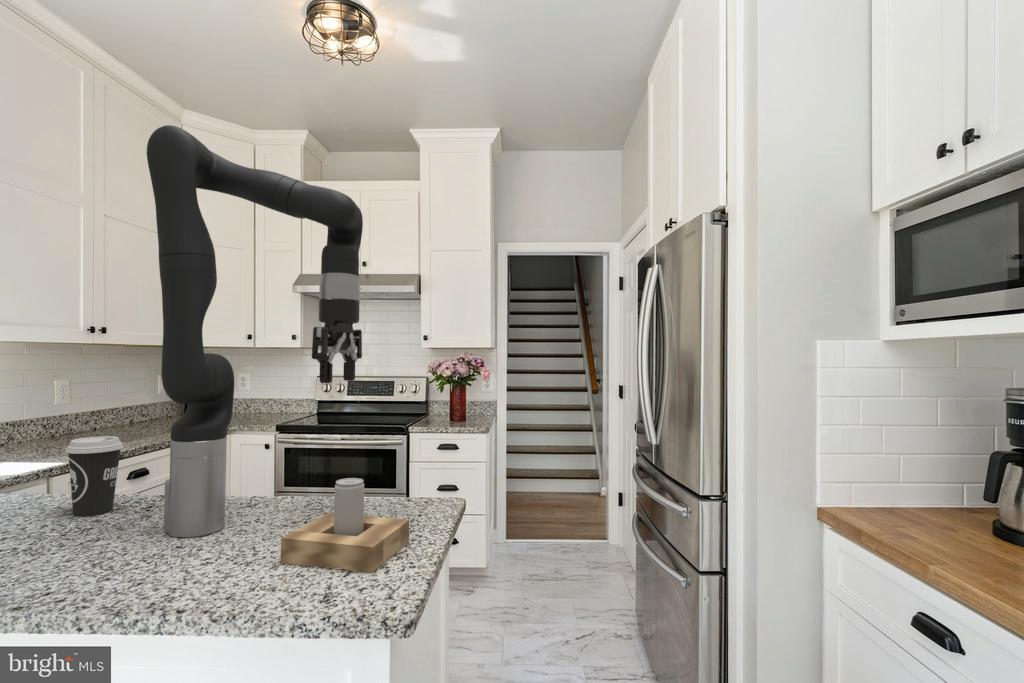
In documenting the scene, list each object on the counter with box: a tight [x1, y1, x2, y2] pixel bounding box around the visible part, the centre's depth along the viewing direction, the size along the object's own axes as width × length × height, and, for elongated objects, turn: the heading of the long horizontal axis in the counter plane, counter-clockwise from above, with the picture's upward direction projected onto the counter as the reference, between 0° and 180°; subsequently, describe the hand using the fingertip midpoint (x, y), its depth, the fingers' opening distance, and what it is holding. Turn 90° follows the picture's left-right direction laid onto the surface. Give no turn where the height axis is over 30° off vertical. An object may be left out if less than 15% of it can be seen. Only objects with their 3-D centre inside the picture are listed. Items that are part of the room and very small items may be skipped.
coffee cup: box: [65, 435, 124, 518], centre depth 112 cm, size 10×10×15 cm
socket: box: [280, 512, 410, 574], centre depth 92 cm, size 16×14×4 cm
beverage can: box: [333, 477, 365, 536], centre depth 92 cm, size 5×5×12 cm
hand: (337, 381), depth 105 cm, fingers open, 8 cm apart
